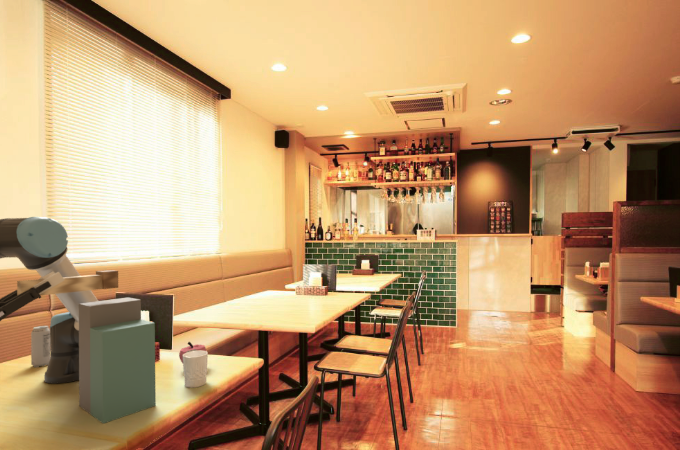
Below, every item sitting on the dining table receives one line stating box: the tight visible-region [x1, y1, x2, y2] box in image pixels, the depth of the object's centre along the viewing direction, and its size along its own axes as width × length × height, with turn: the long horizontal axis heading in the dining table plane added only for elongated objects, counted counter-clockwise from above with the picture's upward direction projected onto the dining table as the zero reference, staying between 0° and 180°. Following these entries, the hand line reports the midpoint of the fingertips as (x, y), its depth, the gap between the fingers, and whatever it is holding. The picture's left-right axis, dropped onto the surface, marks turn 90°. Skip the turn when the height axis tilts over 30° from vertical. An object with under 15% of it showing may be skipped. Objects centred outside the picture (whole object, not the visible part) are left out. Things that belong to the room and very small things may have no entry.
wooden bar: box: [16, 269, 119, 296], centre depth 113 cm, size 23×6×5 cm, turn 140°
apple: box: [178, 341, 207, 364], centre depth 149 cm, size 10×9×10 cm
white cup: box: [182, 350, 209, 388], centre depth 134 cm, size 8×8×10 cm
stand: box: [78, 297, 157, 424], centre depth 118 cm, size 14×18×30 cm
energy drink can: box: [30, 325, 51, 368], centre depth 158 cm, size 6×6×15 cm
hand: (58, 275), depth 111 cm, fingers closed on wooden bar, 4 cm apart
